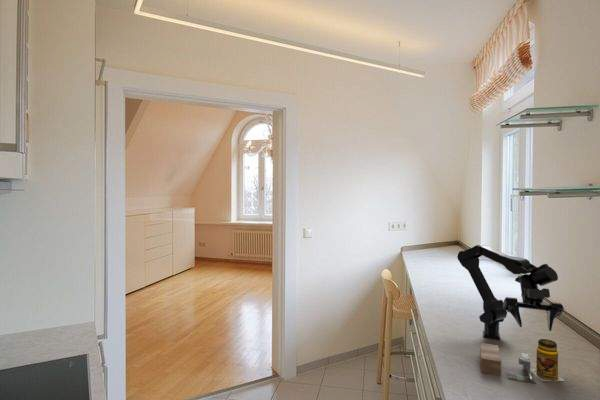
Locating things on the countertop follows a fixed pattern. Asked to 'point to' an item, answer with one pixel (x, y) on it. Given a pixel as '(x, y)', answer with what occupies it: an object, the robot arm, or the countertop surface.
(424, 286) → the countertop surface
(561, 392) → the countertop surface
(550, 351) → the condiment
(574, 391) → the countertop surface
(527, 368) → the plunger
